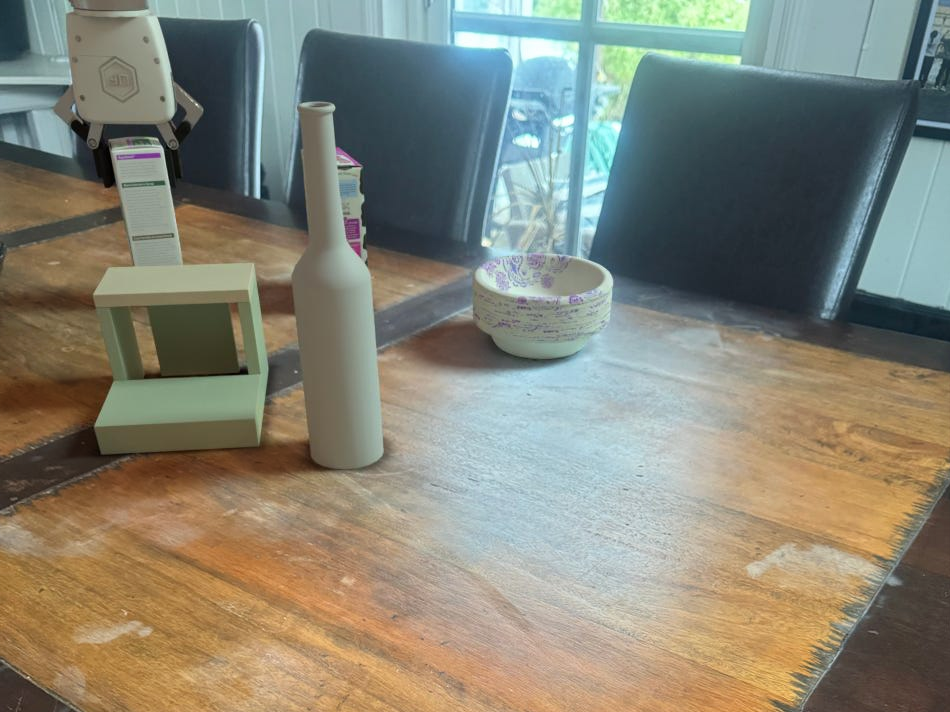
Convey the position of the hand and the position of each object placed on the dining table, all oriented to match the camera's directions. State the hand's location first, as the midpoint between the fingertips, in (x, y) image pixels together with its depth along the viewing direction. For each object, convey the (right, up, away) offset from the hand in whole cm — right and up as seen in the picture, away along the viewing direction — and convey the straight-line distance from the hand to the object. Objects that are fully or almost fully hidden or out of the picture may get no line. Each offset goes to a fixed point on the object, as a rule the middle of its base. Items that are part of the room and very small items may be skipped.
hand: (142, 184), depth 108 cm
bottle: (+27, -36, -22) cm, 50 cm away
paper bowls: (+46, -19, -2) cm, 49 cm away
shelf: (+10, -30, -16) cm, 35 cm away
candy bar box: (+22, -10, +9) cm, 26 cm away
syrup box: (0, -8, +6) cm, 10 cm away
